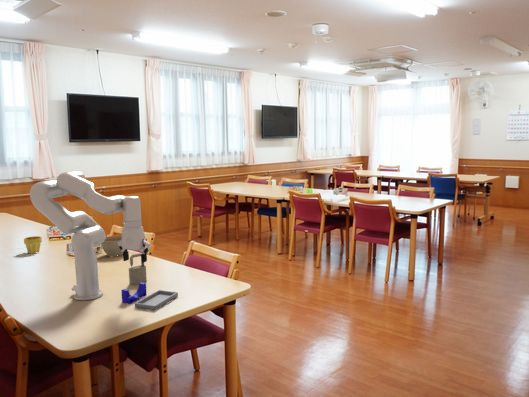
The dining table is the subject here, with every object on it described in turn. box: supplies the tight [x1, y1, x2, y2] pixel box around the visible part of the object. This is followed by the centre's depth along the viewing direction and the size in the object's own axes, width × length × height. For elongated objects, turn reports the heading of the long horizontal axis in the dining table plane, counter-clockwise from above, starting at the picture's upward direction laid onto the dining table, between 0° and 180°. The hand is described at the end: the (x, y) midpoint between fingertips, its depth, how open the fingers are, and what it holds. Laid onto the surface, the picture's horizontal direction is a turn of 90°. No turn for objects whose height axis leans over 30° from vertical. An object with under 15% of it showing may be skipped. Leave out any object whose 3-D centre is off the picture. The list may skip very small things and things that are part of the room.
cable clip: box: [120, 282, 148, 305], centre depth 204 cm, size 12×4×6 cm, turn 150°
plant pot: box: [23, 235, 43, 254], centre depth 293 cm, size 10×10×10 cm
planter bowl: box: [100, 235, 123, 257], centre depth 283 cm, size 16×16×11 cm
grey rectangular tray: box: [134, 289, 179, 312], centre depth 200 cm, size 10×18×2 cm, turn 159°
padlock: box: [128, 252, 148, 286], centre depth 227 cm, size 4×8×15 cm, turn 132°
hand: (135, 261), depth 202 cm, fingers open, 9 cm apart
